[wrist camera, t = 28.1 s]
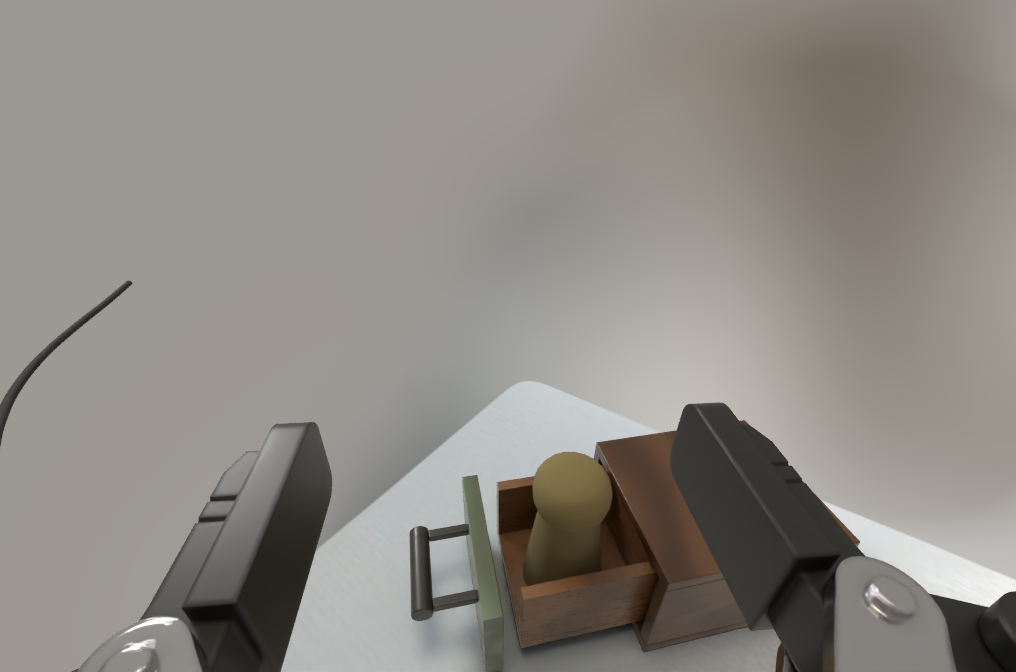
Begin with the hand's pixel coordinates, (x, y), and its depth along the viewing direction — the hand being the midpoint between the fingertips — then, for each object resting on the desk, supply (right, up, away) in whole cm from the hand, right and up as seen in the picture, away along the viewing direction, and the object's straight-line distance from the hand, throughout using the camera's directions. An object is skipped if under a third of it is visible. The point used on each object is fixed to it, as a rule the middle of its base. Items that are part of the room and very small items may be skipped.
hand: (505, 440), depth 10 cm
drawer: (+2, -17, +25) cm, 30 cm away
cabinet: (+15, -16, +28) cm, 35 cm away
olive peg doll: (+4, -16, +24) cm, 29 cm away
